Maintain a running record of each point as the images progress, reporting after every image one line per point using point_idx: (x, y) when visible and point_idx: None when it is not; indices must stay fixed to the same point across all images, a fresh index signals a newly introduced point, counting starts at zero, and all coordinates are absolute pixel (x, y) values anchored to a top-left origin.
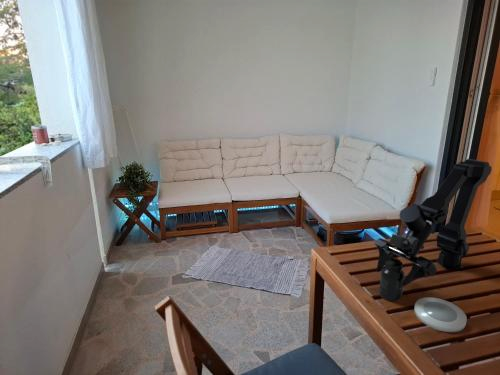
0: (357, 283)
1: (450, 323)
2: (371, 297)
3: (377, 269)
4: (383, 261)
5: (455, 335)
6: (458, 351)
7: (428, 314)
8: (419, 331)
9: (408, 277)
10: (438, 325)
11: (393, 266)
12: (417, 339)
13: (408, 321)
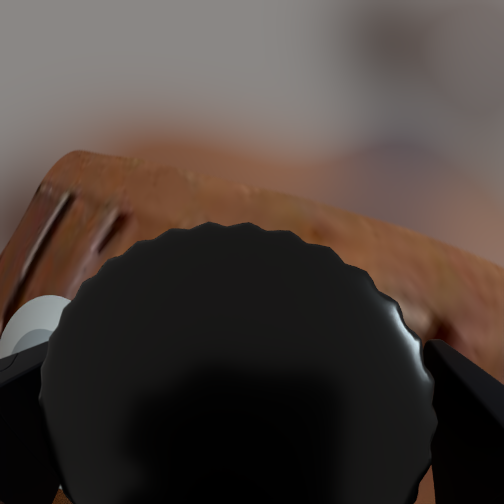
0: (461, 318)
1: (11, 342)
2: None
3: (437, 343)
4: (471, 464)
5: None
6: (10, 264)
7: None
8: (80, 249)
9: (40, 350)
10: (30, 300)
11: (135, 254)
12: (80, 213)
13: None
